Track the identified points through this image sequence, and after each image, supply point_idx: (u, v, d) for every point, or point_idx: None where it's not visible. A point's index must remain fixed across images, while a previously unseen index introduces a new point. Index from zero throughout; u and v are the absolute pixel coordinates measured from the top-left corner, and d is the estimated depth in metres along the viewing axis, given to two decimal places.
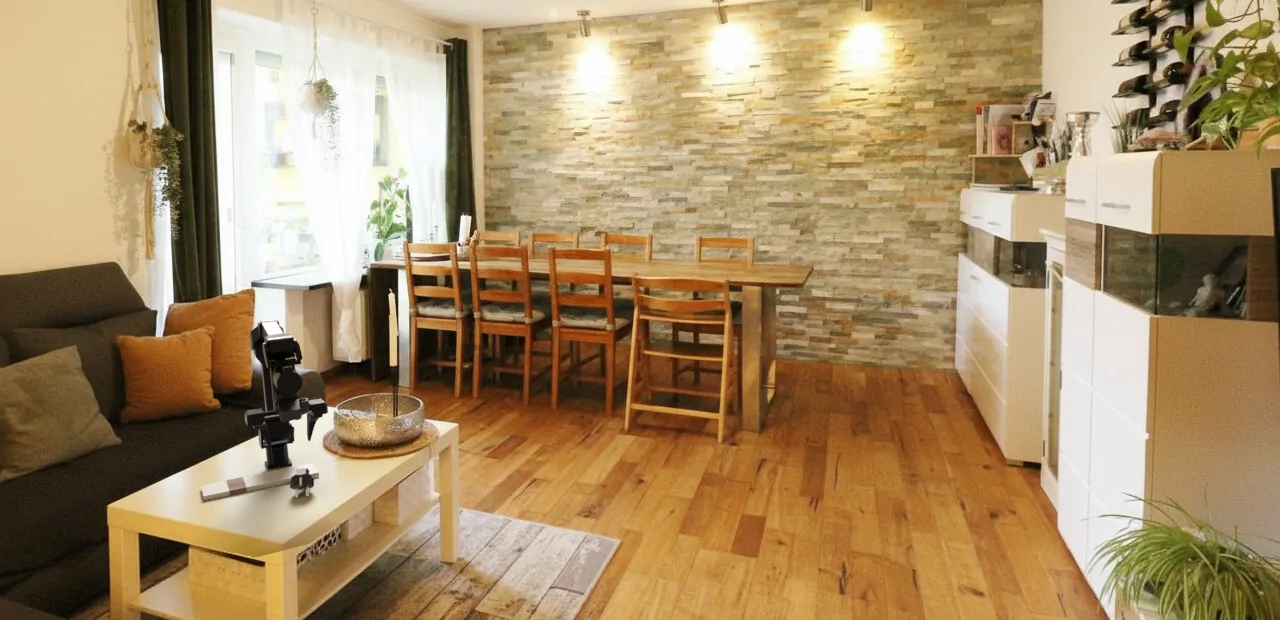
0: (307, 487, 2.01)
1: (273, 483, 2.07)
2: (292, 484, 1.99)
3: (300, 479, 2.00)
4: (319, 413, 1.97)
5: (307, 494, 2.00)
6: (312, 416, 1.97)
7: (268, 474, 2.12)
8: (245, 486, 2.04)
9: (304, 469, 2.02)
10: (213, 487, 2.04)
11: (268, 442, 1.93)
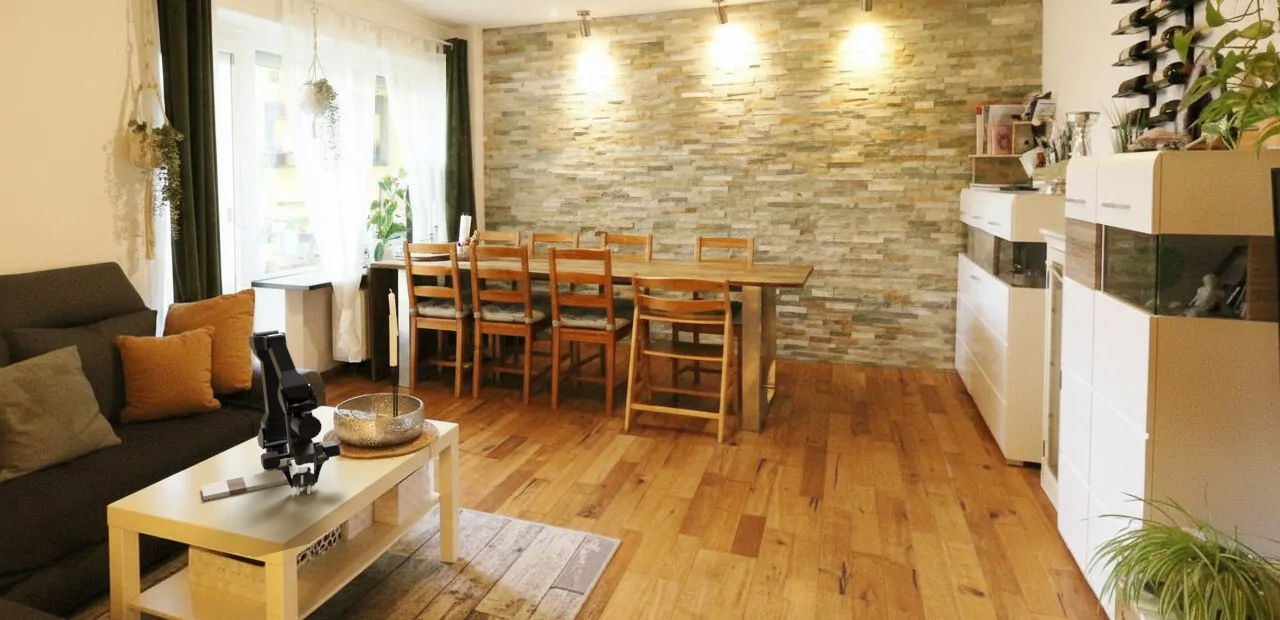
0: (308, 485, 2.02)
1: (273, 483, 2.07)
2: (294, 482, 2.00)
3: (301, 477, 2.01)
4: (332, 455, 2.04)
5: (308, 492, 2.01)
6: (319, 459, 2.03)
7: (268, 474, 2.12)
8: (245, 486, 2.04)
9: (306, 467, 2.03)
10: (213, 487, 2.04)
11: (290, 482, 2.01)
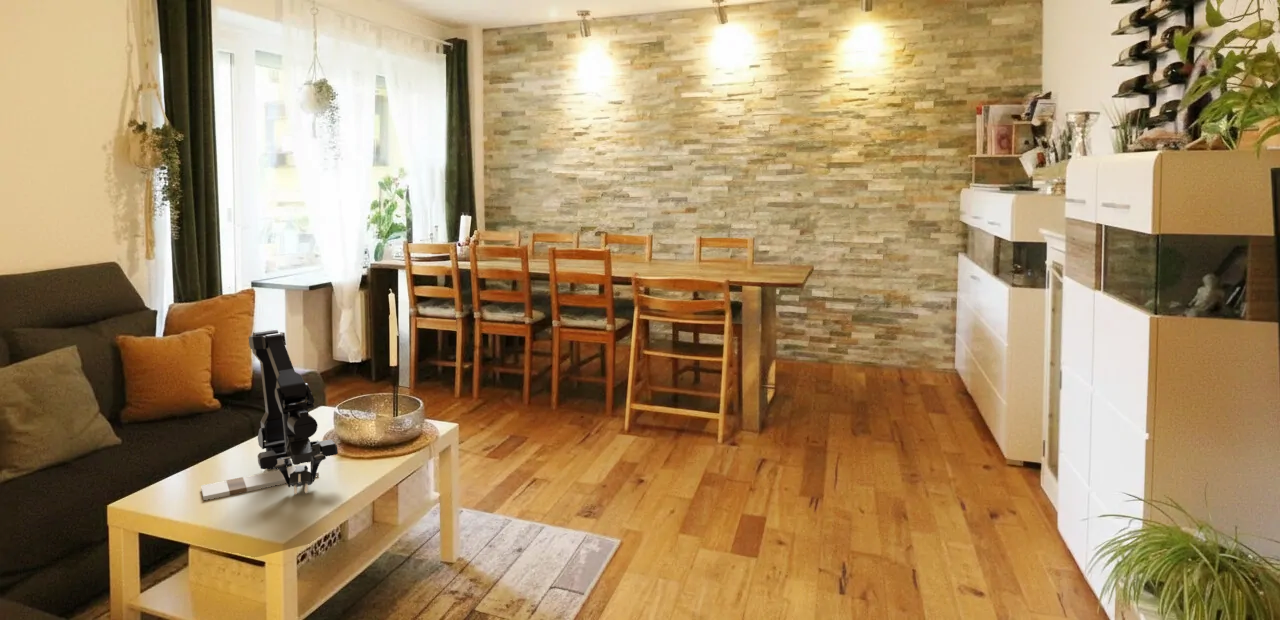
0: (306, 484, 2.02)
1: (273, 483, 2.07)
2: (291, 481, 2.00)
3: (299, 476, 2.00)
4: (329, 454, 2.04)
5: (306, 491, 2.01)
6: (316, 458, 2.03)
7: (268, 474, 2.12)
8: (245, 486, 2.04)
9: (303, 466, 2.03)
10: (213, 487, 2.04)
11: (287, 481, 2.01)
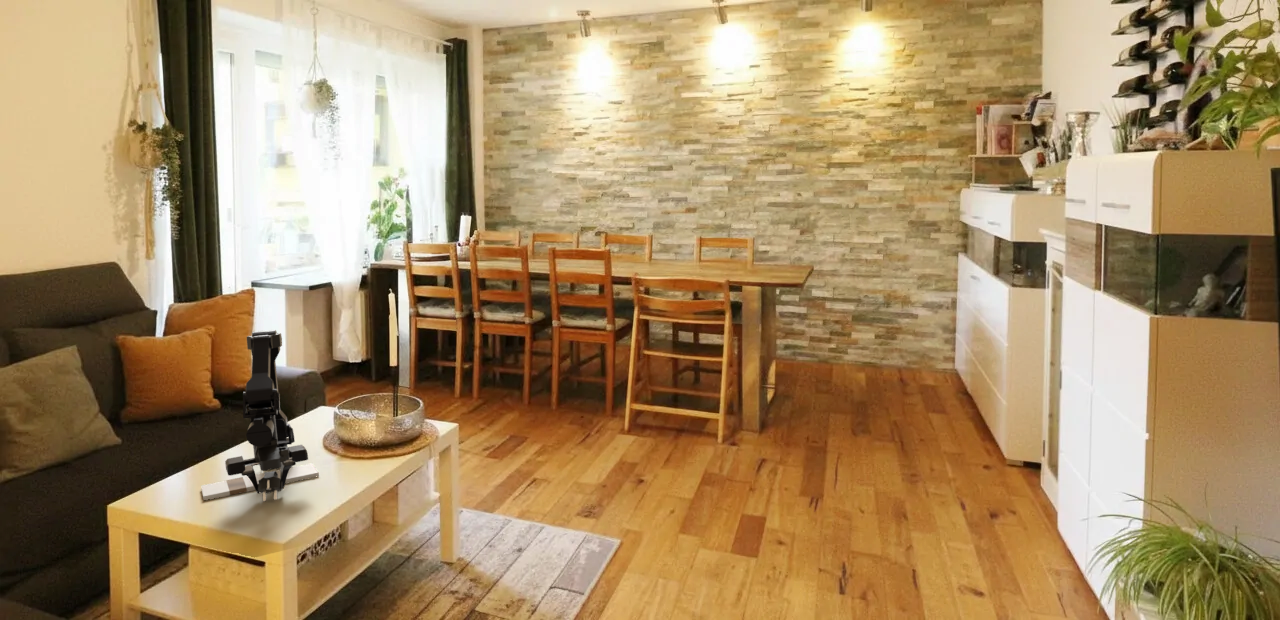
0: (275, 490, 1.98)
1: None
2: (259, 487, 1.96)
3: (268, 482, 1.96)
4: (299, 460, 2.00)
5: (275, 497, 1.97)
6: (285, 464, 1.99)
7: None
8: (245, 486, 2.04)
9: (272, 472, 1.99)
10: (213, 487, 2.04)
11: (256, 488, 1.97)
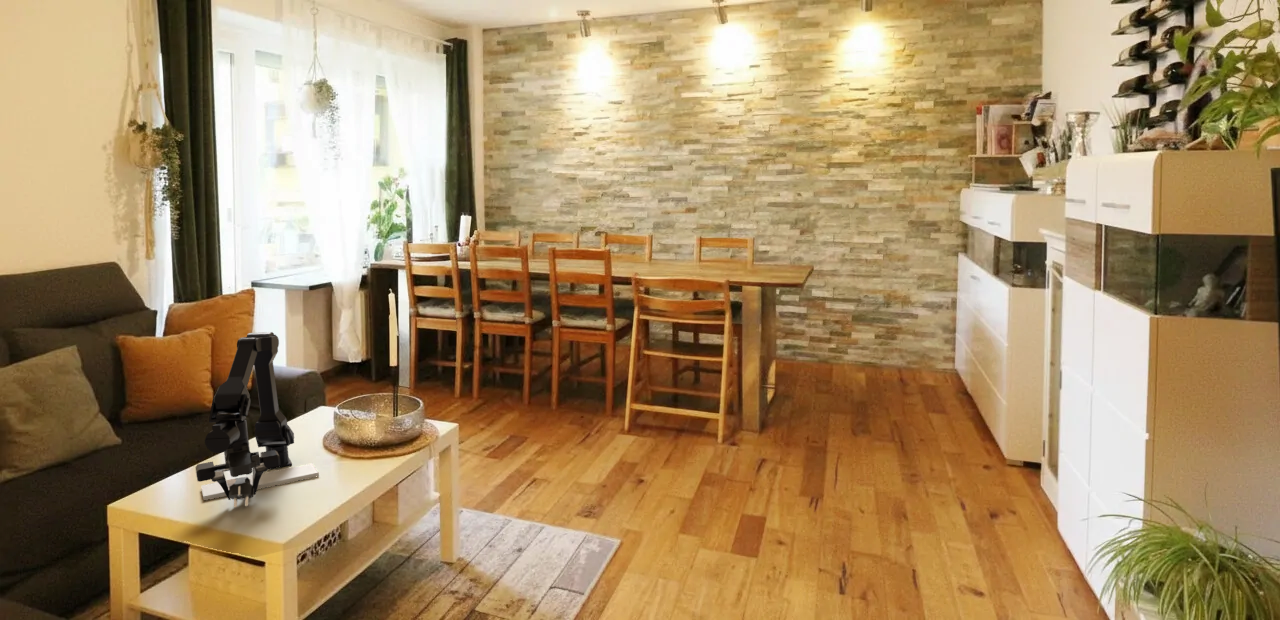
0: (246, 497, 1.94)
1: (273, 483, 2.07)
2: (230, 494, 1.92)
3: (239, 488, 1.93)
4: (271, 466, 1.96)
5: (246, 504, 1.93)
6: (257, 470, 1.95)
7: (268, 474, 2.12)
8: None
9: (244, 478, 1.95)
10: (213, 487, 2.04)
11: (227, 494, 1.94)
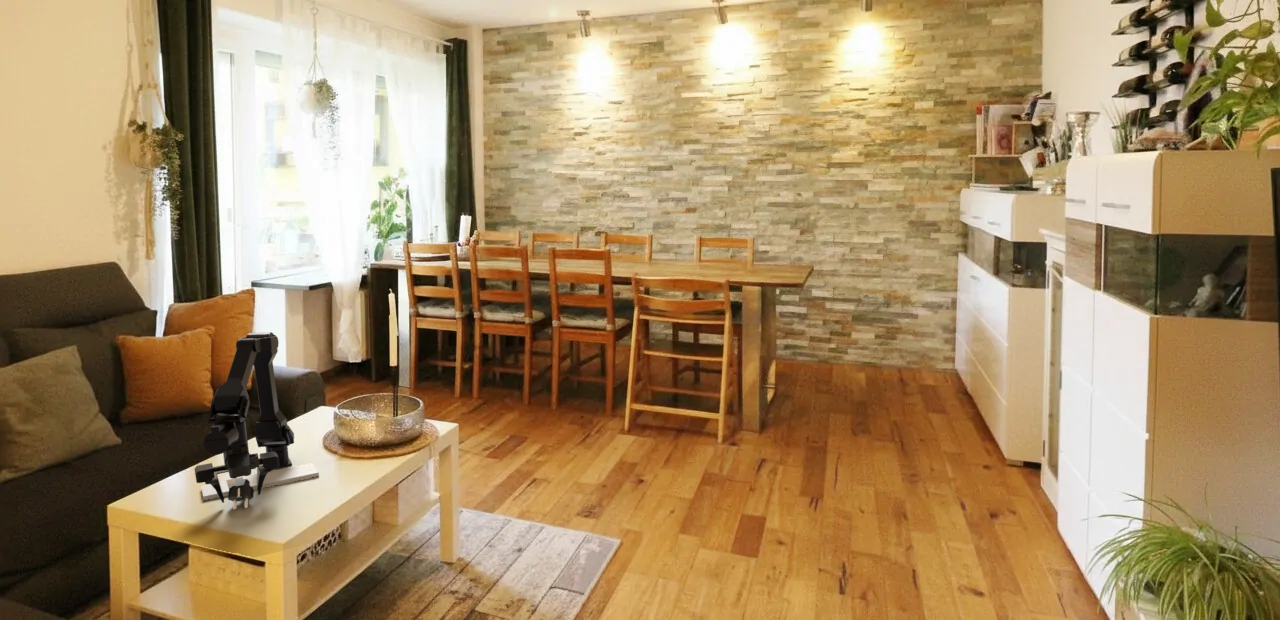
0: (246, 498, 1.94)
1: (273, 483, 2.07)
2: (230, 495, 1.92)
3: (238, 490, 1.93)
4: (270, 467, 1.96)
5: (246, 506, 1.93)
6: (261, 470, 1.96)
7: (268, 474, 2.12)
8: None
9: (243, 480, 1.96)
10: (213, 487, 2.04)
11: (221, 497, 1.93)
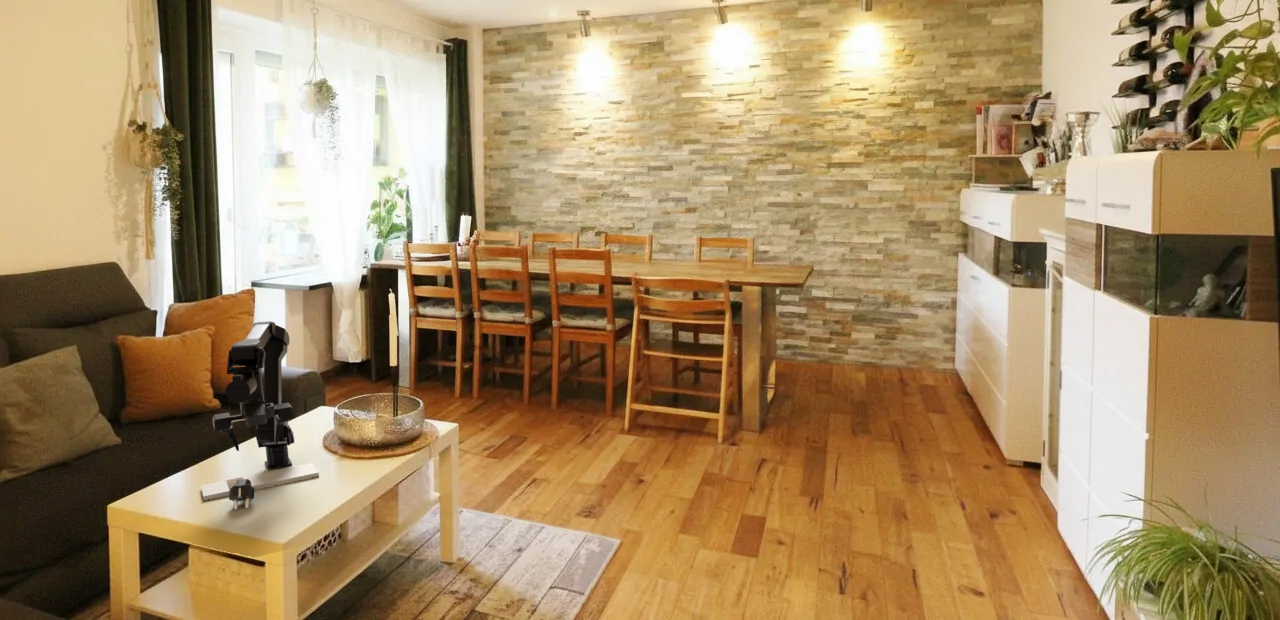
0: (247, 498, 1.94)
1: (273, 483, 2.07)
2: (231, 495, 1.92)
3: (239, 490, 1.93)
4: (285, 417, 2.03)
5: (247, 506, 1.94)
6: (278, 420, 2.03)
7: (268, 474, 2.12)
8: None
9: (244, 480, 1.96)
10: (213, 487, 2.04)
11: (235, 445, 2.00)
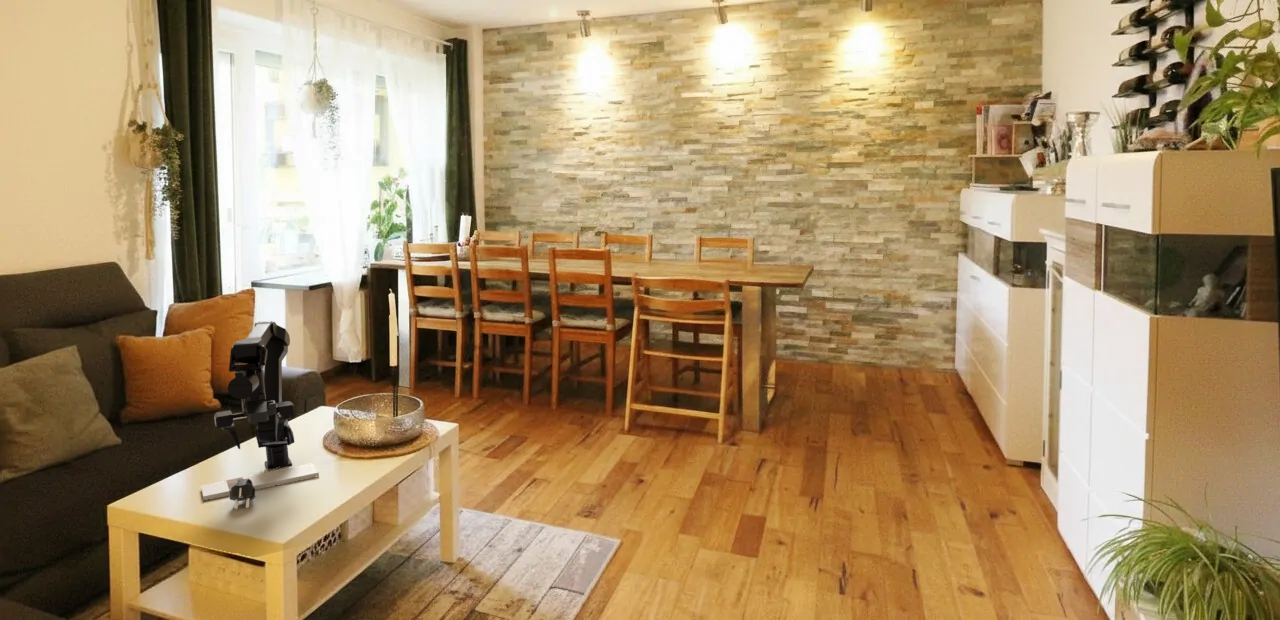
0: (247, 498, 1.94)
1: (273, 483, 2.07)
2: (231, 495, 1.93)
3: (240, 490, 1.93)
4: (287, 415, 2.04)
5: (247, 506, 1.94)
6: (280, 418, 2.04)
7: (268, 474, 2.12)
8: None
9: (245, 479, 1.96)
10: (213, 487, 2.04)
11: (237, 443, 2.00)
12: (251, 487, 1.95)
